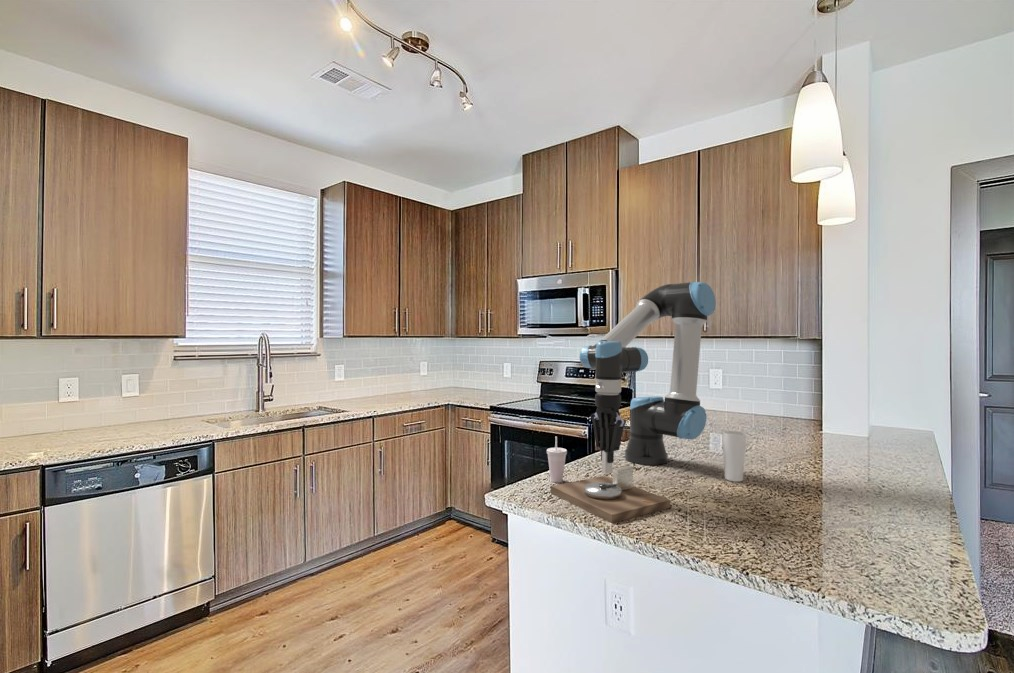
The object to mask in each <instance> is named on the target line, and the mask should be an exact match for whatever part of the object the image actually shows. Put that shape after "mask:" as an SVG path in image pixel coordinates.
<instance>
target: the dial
mask: <svg viewBox="0 0 1014 673" xmlns="http://www.w3.org/2000/svg"><path fill="white" fill-rule="evenodd" d="M612 478H613V484H611V483H605V482H593V483H588V484H586V485H585V487H584V493H585V494H586V495H587V496H589V497H592V498H596V499H604V500H610V499H617V498H619V497H621V491H622V490H626V489H631V488H633V486H634V485H633V484H634V482H633V481H634V480H633V479H634V467H633V466H631V465H624V466H619V467H614V468H613V467H612Z"/></svg>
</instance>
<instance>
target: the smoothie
mask: <svg viewBox="0 0 1014 673" xmlns="http://www.w3.org/2000/svg"><path fill="white" fill-rule="evenodd" d="M554 438H555V444H554V447H549V448H547V449H546V455H547V459H548V460H547V461H548V467H549V468H548V469H549V470H548V471H549V477H550V478H549V479H550V482H552V483H556V484H557V483H559V484H560V483H562V482H563V480H564V471H565V464H566V458H567V454H568V450H567V449H566V448H563V447H558V436H555V437H554Z"/></svg>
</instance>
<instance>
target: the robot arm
mask: <svg viewBox="0 0 1014 673" xmlns="http://www.w3.org/2000/svg"><path fill="white" fill-rule="evenodd" d="M714 292H715V291H713V289H712V287H711V286H710V285H709V284H708V283H707V282H703V281H691V282H690V281H689V282H682V283H681V282H680V283H679V282H678V283H668V284H663V285H661V286H659V287H656V288H654V289H652V290H651V291H649V292H648V293H646V294H645V295H644V296H642V298H640V299H639V300H638V301H637V303H636V304H635V308H633V309H632V310H631V311H630V312H629V313H628V314H627V315H626V316H624V317H623V319H622V320H620V321H619V322H618V323H617V324H616V325H615V326H614V327H612V328H611V329H610V330H609V331H608V332H607V333H606V334H605V335H604V336H603V337H601V339H600V340H599V341H598V342H596V343H595V344H594V345H587V346H584V347H582V349H581V350H580V352H579V362H580V364H581V365H582V367H585V368H586V369H592V370H595V381H594V382H595V384H594V385H595V387H594V390H595V392H596V393H595V394H594V395H595V396H594V404H595V406H596V411H595V413H591V414H590V419H591V421H592V426H593V427H592V428H593V433H594V440H595V446H596V447H598V448H599V450H600V460H601V473H602V474H603V475H608V474H613V463H614V461H615V460H614V453H615V452H616V451H619V450H620V448H621V442H622V437H623V433H624V427H625V425H626V423H627V420H626V419H622V417H621V412H620V408H621V406H622V395H621V392H622V373H629V372H630V373H631V372H633V373H637V372H640V371H641V372H642V371H643V370H645V369H646V368H647V367H648V364H649V355H648V353H647V351H646V350H645V349H643V348H642V347H637V346H632V347H627V346H629V344H631V342H632V341H633V340H634V339H635V338H637V337H638V335H639V334H641V333H642V332H643V330H645V329H646V328H647V327H648V326H649V325H650V324H651V323H655V322H657V321H658V320H659V319H661V318H664V317H671V320H672V321H671V322H673V323H674V325H675V327H674V328H675V329H674V340H673V352H672V360H671V361H672V363H671V364H672V365H671V375H670V385H669V386H670V387H669V392H668V393H667V394H666V395H664V397H663V396H641V397H634V398H632V399H631V400H630V408H629V439H628V443H627V446H626V449H625V450H624V459H625V460H626V461H627V462H631V463H634V464H638V465H639V464H640V465H649V466H651V465H652V466H654V465H664V464H666V463H668V459H669V456H668V453H667V450H666V446H665V443H664V436H669V437H674V438H678V439H681V440H695V439H697V438H698V437H699V436H701V434H702V433H703V431H704V430H705V427H706V423H707V413H706V412H707V411H706V409H705V408H704V407H703V406H701V399H700V398H699V397H698V396H697V387H698V376H699V363H700V351H701V341H702V327H703V326H704V325H705V324H706V323H707V322H708V317H709V316H711V315H713V314H714V313H715V310H716V296H715V293H714Z"/></svg>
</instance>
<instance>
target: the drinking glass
mask: <svg viewBox="0 0 1014 673" xmlns="http://www.w3.org/2000/svg"><path fill="white" fill-rule="evenodd" d="M746 452H747V434H746V433H745V432H742V431H737V430H724V431H722V454H723V466H724V467H723V469H724V479H725V480H726V481H730V482H733V483H734V482H736V483H741V482H742V481H744V471H745V462H746V461H745V459H746Z"/></svg>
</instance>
